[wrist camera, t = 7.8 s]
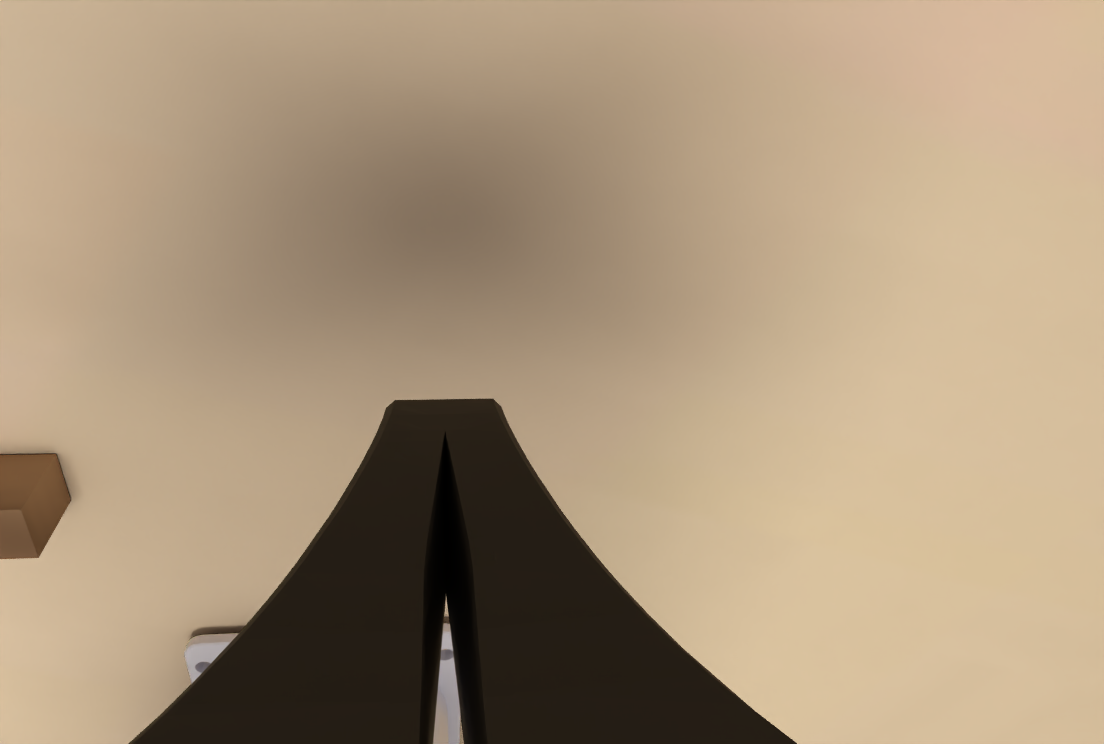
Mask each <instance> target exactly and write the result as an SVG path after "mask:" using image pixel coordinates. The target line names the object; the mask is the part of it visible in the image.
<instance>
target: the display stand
mask: <svg viewBox="0 0 1104 744" xmlns="http://www.w3.org/2000/svg"><path fill="white" fill-rule="evenodd" d="M70 501H71V499H70V496H69V493H68V490H67V487H66V484H65V481H64V477H63V474H62V471H61V468H60V465H59V462H58V459H57V456H56V454H37V455H0V559H16V558H39V556H40V554H41V553H42V551H43V549H44V547H45V545H46V544H47V542H48V540H49V538H50V537H51V535H52V533H53V531H54V530H55V528H56V526H57V524H58V523H59V521H60V519H61V517H62V515H63V514H64V512H65V510H66V508H67V507H68V505H69V503H70Z"/></svg>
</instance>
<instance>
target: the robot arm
mask: <svg viewBox="0 0 1104 744" xmlns="http://www.w3.org/2000/svg"><path fill="white" fill-rule="evenodd" d="M446 596H447V605H448V613H449V622H450V624H448V623H444V612H445V600H446ZM443 649H447V650H443ZM184 657H185V661H186V664H187V668H188V672H189V676H190V680H191V685H190V686H189V687H188V688H187V689H186V690H185V691H184V692H183V693H182V694H181V695H180V696H179V697H178V698H177V699H176V700H175V701H174V702H173V703H172V704H171V705H170V706H169V707H168V708H167V709H166V710H165V711H164V712H163V713H162V714H161V715H160V716H159V717H157V718H156V719H155V720H154V721H153V722H152V723H151V724H150V725H149V726H148V727H146V728H145V729H144V730H143V731H142V732H141V733H140V734H139V735H138V736H137V737H136V738H134V739H133V740H132V741H131V742H130V743H129V744H460V713H461V722H462V730H463V738H464V744H797V743H796V742H794V741H793V740H792V739H790V738H789V737H788V736H787V735H785V734H784V733H783V732H781V731H780V730H779V729H777V728H776V727H775V726H774V725H772V724H771V723H770V722H768V721H767V720H766V719H765V718H763V717H762V716H761V715H759V714H758V713H757V712H755V711H754V710H753V709H752V708H751V707H750V706H748V705H747V704H746V703H745V702H744V701H743V700H741V699H740V698H739V697H738V696H737V695H736V694H735V693H733V692H732V691H731V690H730V689H729V688H728V687H727V686H725V685H724V684H723V683H722V682H721V681H720V680H719V679H717V678H716V677H715V676H714V675H713V674H712V673H710V672H709V671H708V670H707V669H706V668H705V667H704V666H702V665H701V664H700V663H699V662H698V661H697V660H696V659H694V658H693V657H692V656H691V655H690V654H689V653H687V652H686V651H685V650H684V649H683V648H682V647H681V646H680V645H679V644H678V643H677V642H676V641H675V640H674V639H673V638H672V637H671V636H670V635H669V634H668V633H667V632H666V631H665V630H664V629H663V628H662V627H661V626H660V625H659V624H658V623H657V622H656V621H655V620H654V619H653V618H651V617H650V616H649V615H648V614H647V613H646V611H645V610H644V609H643V608H642V607H641V606H640V605H639V604H638V603H637V602H636V601H635V600H634V599H633V598H632V596H631V595H630V594H629V593H628V592H627V591H626V590H625V589H624V588H623V587H622V586H621V585H620V583H619V582H618V581H617V580H616V579H615V578H614V577H613V575H612V574H611V573H610V572H609V571H608V570H607V568H606V567H605V566H604V565H603V564H602V563H601V561H600V560H599V559H598V558H597V557H596V555H595V554H594V553H593V552H592V550H591V549H590V548H589V546H588V545H587V544H586V543H585V541H584V540H583V539H582V538H581V536H580V535H579V534H578V532H577V531H576V530H575V529H574V527H573V526H572V525H571V523H570V522H569V520H568V519H567V518H566V516H565V515H564V514H563V512H562V511H561V509H560V508H559V507H558V505H557V504H556V502H555V501H554V499H553V498H552V496H551V495H550V493H549V492H548V490H547V489H546V487H545V486H544V484H543V483H542V481H541V480H540V478H539V477H538V475H537V474H536V472H535V470H534V469H533V467H532V466H531V464H530V462H529V461H528V459H527V457H526V455H525V454H524V452H523V450H522V449H521V447H520V445H519V443H518V441H517V440H516V438H515V436H514V434H513V432H512V430H511V428H510V426H509V424H508V422H507V420H506V417H505V415H504V413H503V410H502V407H501V406H500V405H499V404H498V403H497V402H496V401H495V400H494V399H444V400H395V401H394V402H393V403H391V404H390V405H389V406H388V407H387V408H386V410H385V413H384V416H383V419H382V422H381V424H380V426H379V429H378V431H377V433H376V435H375V438H374V440H373V442H372V444H371V446H370V448H369V450H368V451H367V453H366V455H365V457H364V459H363V461H362V463H361V465H360V467H359V468H358V470H357V472H356V473H355V475H354V477H353V478H352V480H351V482H350V483H349V485H348V487H347V488H346V490H345V492H344V493H343V495H342V497H341V498H340V500H339V502H338V503H337V505H336V507H335V508H334V510H333V511H332V513H331V514H330V516H329V517H328V519H327V520H326V522H325V523H324V525H323V526H322V527H321V529H320V530H319V532H318V533H317V535H316V536H315V537H314V539H313V540H312V542H311V543H310V545H309V546H308V547H307V549H306V550H305V552H304V553H303V555H302V556H301V557H300V559H299V560H298V562H297V563H296V564H295V566H294V567H293V568H292V570H291V571H290V572H289V573H288V575H287V576H286V577H285V579H284V580H283V581H282V582H281V584H280V585H279V586H278V588H277V589H276V590H275V591H274V593H273V594H272V595H271V596H270V597H269V599H268V600H267V601H266V602H265V604H264V605H263V606H262V607H261V608H260V609H259V611H258V612H257V613H256V614H255V615H254V616H253V618H252V619H251V620H250V621H249V622H248V624H247V625H246V626H245V627H244V628H243V629H242V630H241V632H240V633H229V634H208V635H199V636H195V637H193V638H191V639H190V640H189V641H188V643H187V645H186V648H185V652H184Z"/></svg>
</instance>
